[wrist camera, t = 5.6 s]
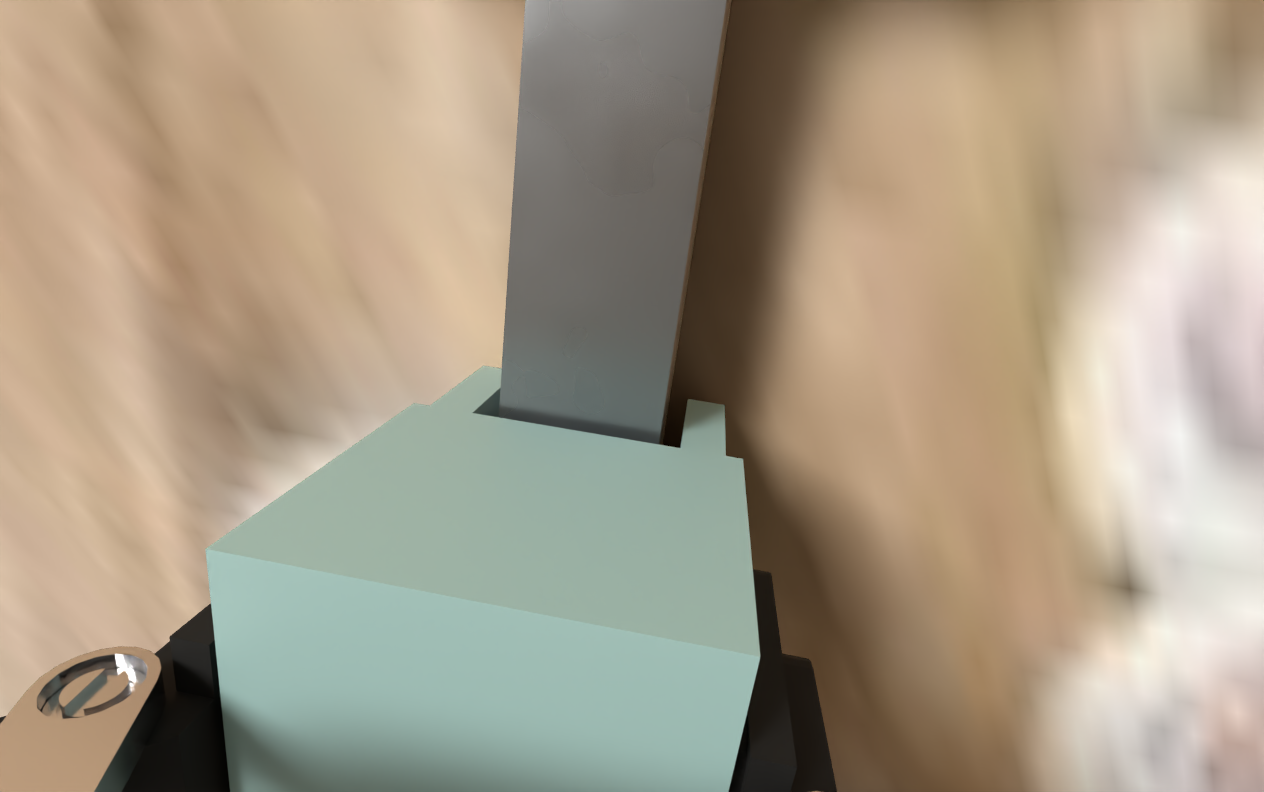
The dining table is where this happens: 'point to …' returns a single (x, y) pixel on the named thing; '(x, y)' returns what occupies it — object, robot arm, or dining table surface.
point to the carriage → (492, 611)
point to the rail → (606, 208)
